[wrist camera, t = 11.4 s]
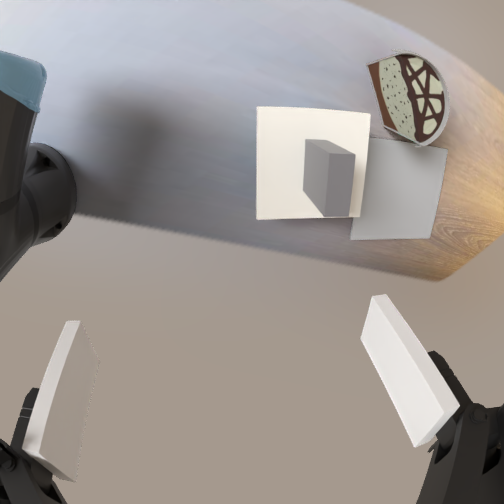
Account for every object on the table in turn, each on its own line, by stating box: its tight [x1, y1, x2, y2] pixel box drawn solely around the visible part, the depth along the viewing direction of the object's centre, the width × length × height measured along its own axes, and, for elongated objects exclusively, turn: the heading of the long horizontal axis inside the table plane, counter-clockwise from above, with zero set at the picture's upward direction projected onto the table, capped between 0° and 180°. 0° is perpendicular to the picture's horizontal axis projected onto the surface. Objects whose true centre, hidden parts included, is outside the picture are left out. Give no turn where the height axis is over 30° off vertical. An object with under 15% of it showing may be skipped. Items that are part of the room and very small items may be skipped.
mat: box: [349, 137, 448, 240], centre depth 44 cm, size 16×16×1 cm
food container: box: [366, 49, 450, 147], centre depth 32 cm, size 12×6×10 cm, turn 20°
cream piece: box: [256, 106, 371, 220], centre depth 31 cm, size 13×13×9 cm
